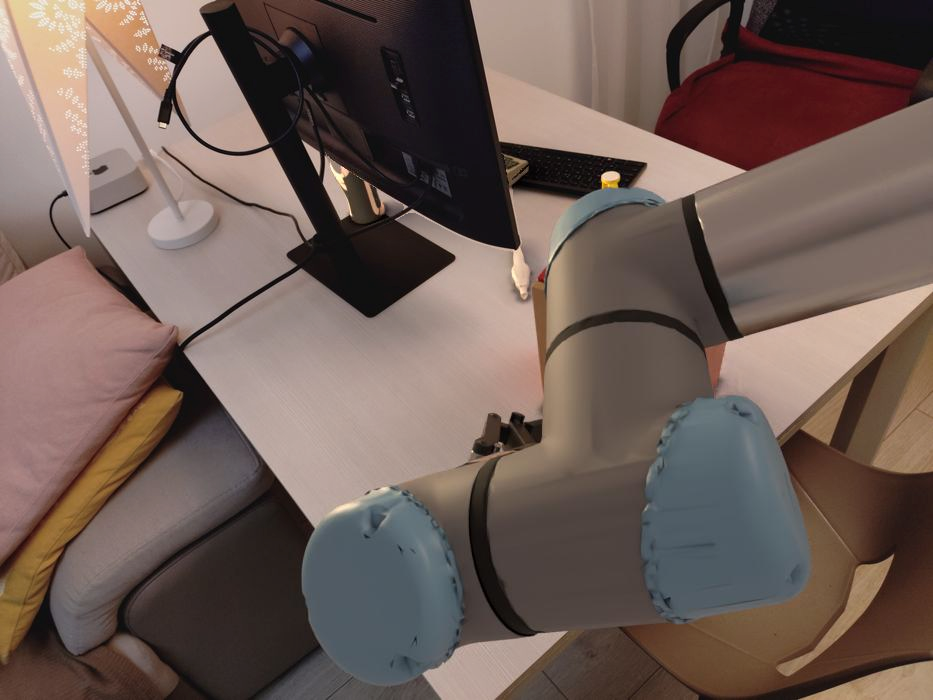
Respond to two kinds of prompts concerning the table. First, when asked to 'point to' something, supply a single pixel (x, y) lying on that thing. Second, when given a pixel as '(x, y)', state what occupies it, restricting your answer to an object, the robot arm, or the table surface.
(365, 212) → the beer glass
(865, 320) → the table surface
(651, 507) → the robot arm
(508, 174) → the cream printed box
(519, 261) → the white elongated piece
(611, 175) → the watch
